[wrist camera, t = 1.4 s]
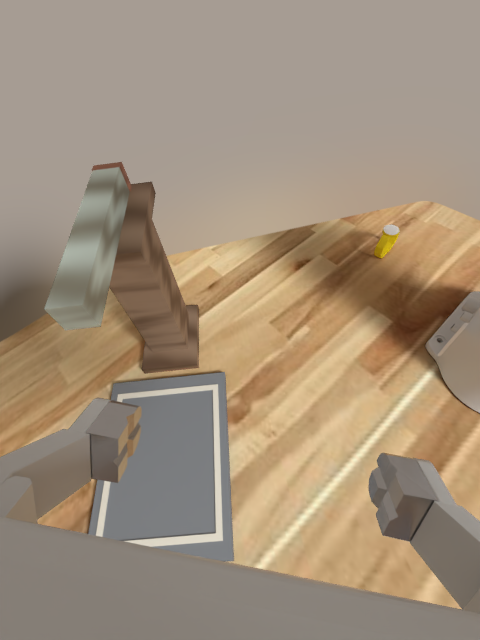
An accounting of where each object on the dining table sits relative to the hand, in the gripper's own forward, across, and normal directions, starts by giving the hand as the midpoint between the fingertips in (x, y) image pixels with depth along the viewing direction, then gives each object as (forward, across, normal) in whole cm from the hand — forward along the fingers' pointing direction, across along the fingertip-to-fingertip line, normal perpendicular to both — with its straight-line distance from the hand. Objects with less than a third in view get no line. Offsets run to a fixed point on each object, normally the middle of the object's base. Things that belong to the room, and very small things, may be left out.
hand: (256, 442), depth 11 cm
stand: (+41, +13, +19) cm, 47 cm away
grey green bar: (+23, +17, 0) cm, 28 cm away
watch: (+58, -23, +1) cm, 62 cm away
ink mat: (+24, +9, +29) cm, 39 cm away
